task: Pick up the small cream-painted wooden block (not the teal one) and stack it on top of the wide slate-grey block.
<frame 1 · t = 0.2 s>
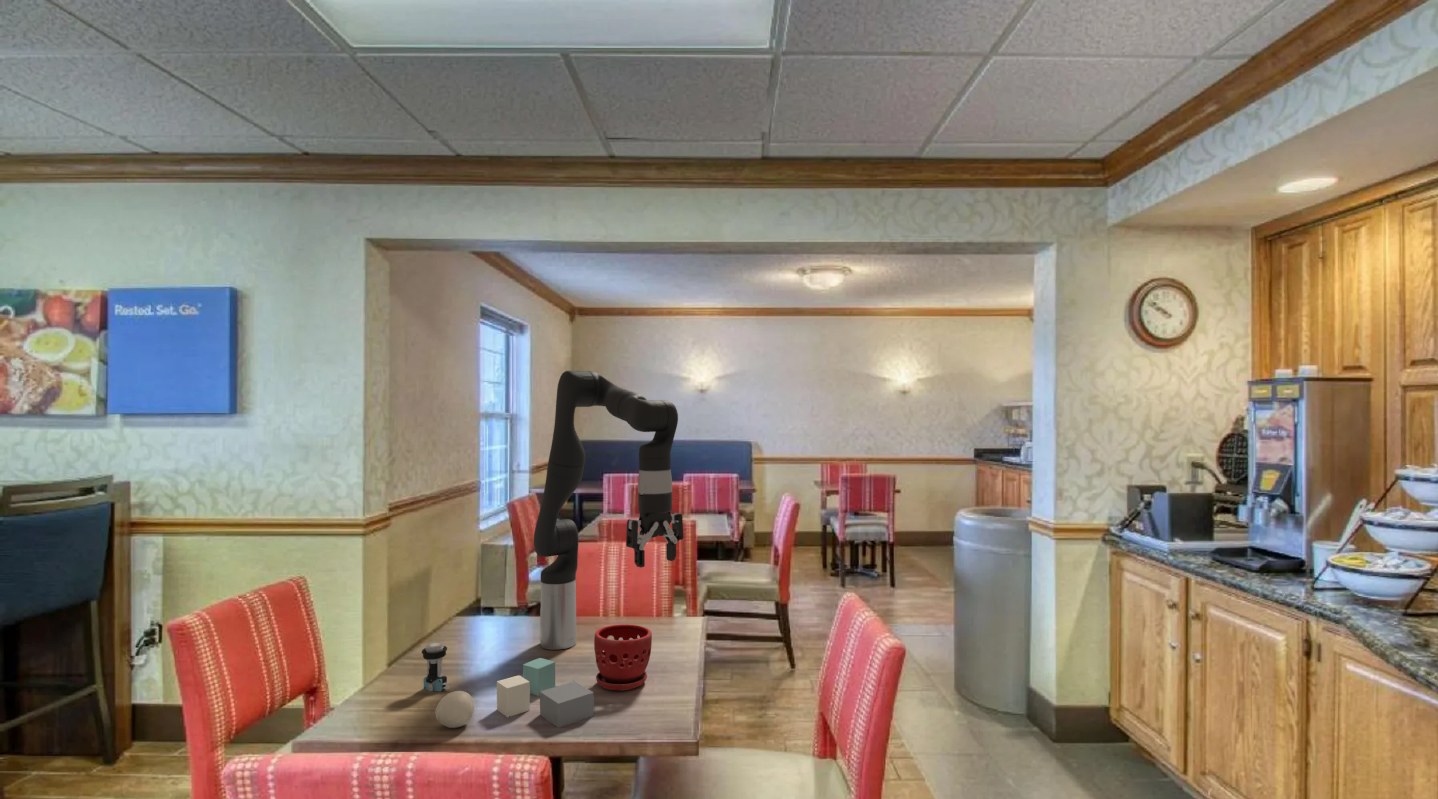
hand: (655, 563, 154), 29 cm above the table, fingers open, 8 cm apart
cream block: (513, 710, 147), on the table
plant pot: (623, 684, 161), on the table
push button: (437, 690, 158), on the table
teal block: (539, 689, 158), on the table
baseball: (454, 727, 140), on the table
slate base block: (566, 716, 144), on the table
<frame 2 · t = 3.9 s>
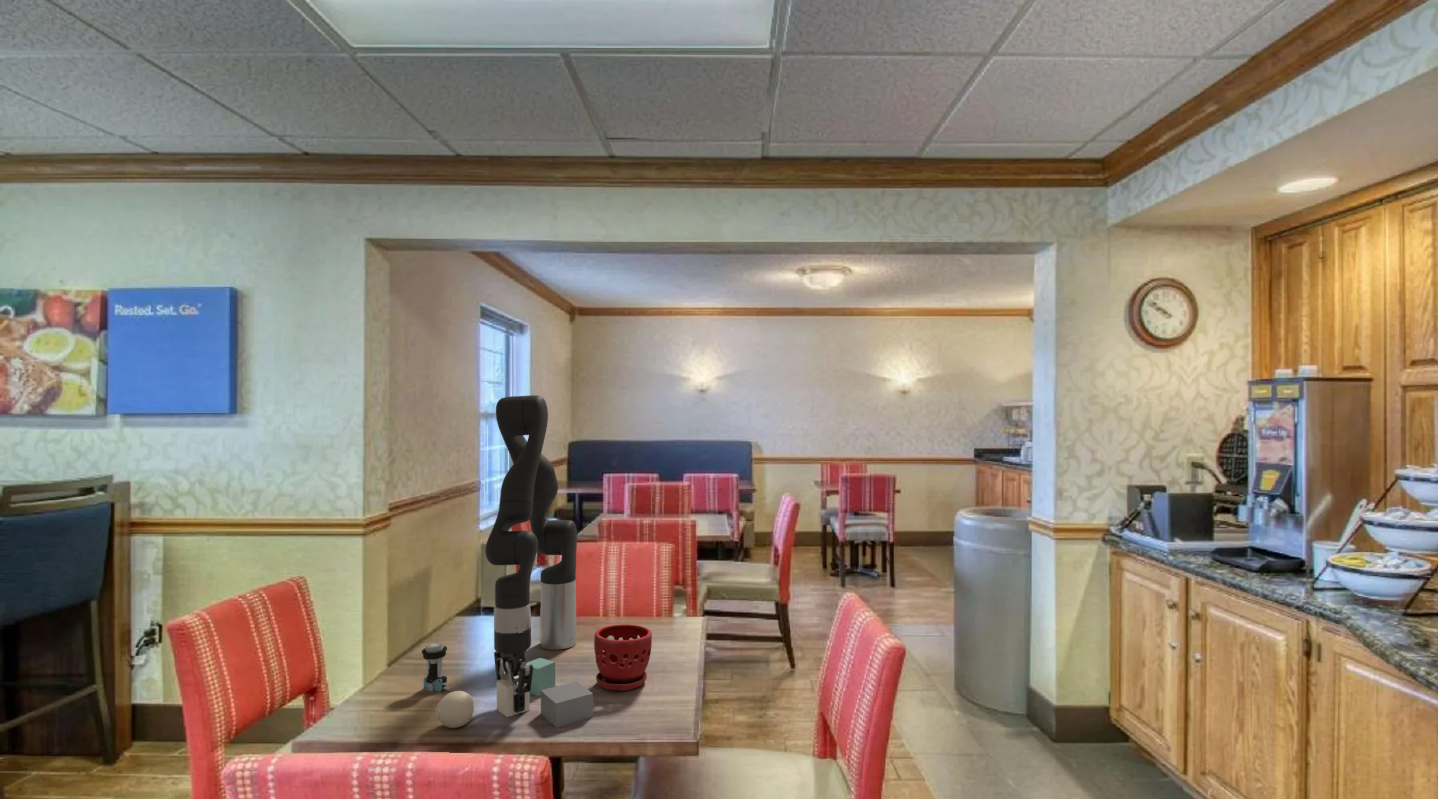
hand: (513, 706, 147), 1 cm above the table, fingers closed on cream block, 5 cm apart
cream block: (513, 709, 147), on the table, touching gripper
everything else where it was.
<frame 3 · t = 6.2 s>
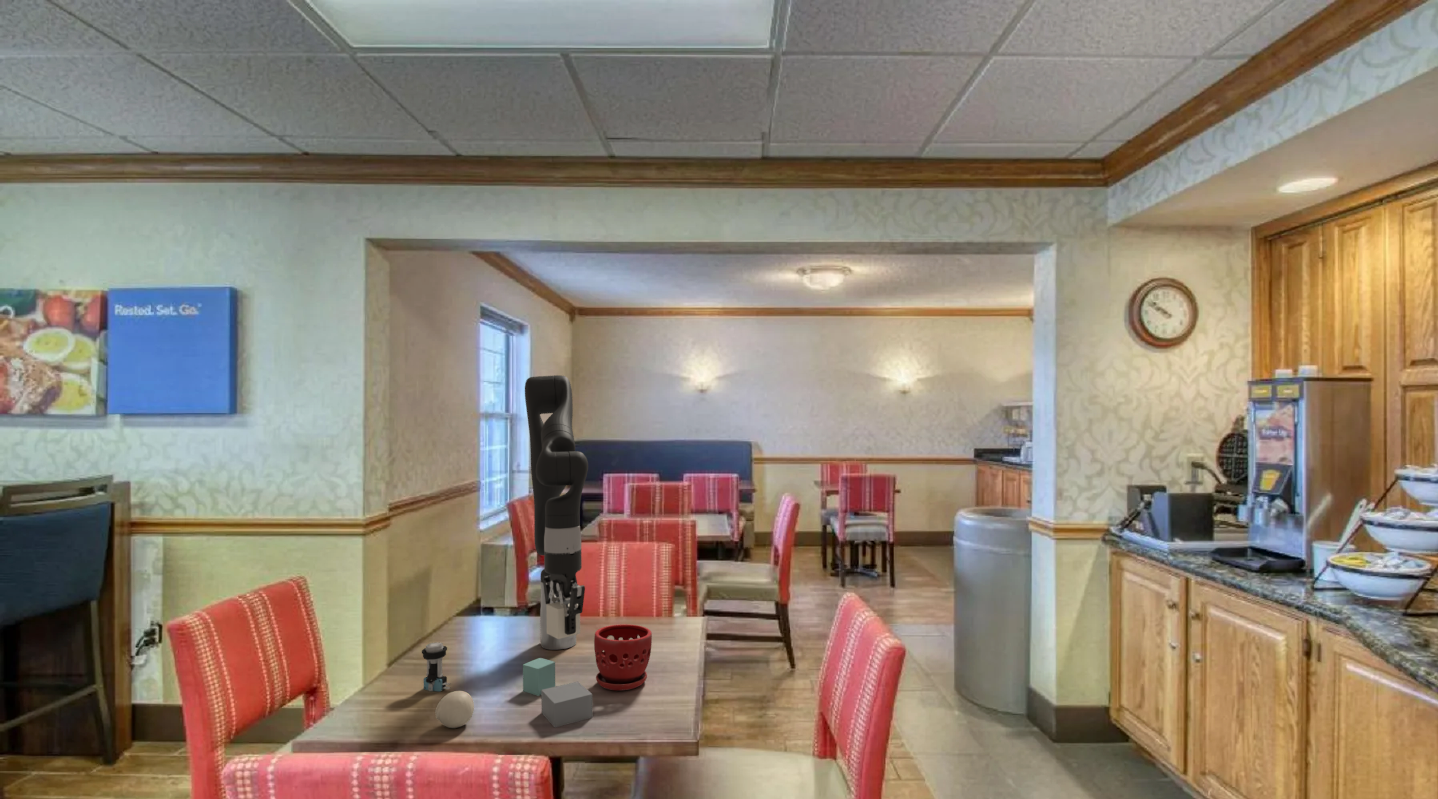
hand: (563, 630, 144), 18 cm above the table, fingers closed on cream block, 5 cm apart
cream block: (563, 633, 144), point 17 cm above the table, touching gripper
everything else where it was.
when the fingers open (7 cm above the table, at t = 8.6 s): cream block drops 1 cm, resting on slate base block.
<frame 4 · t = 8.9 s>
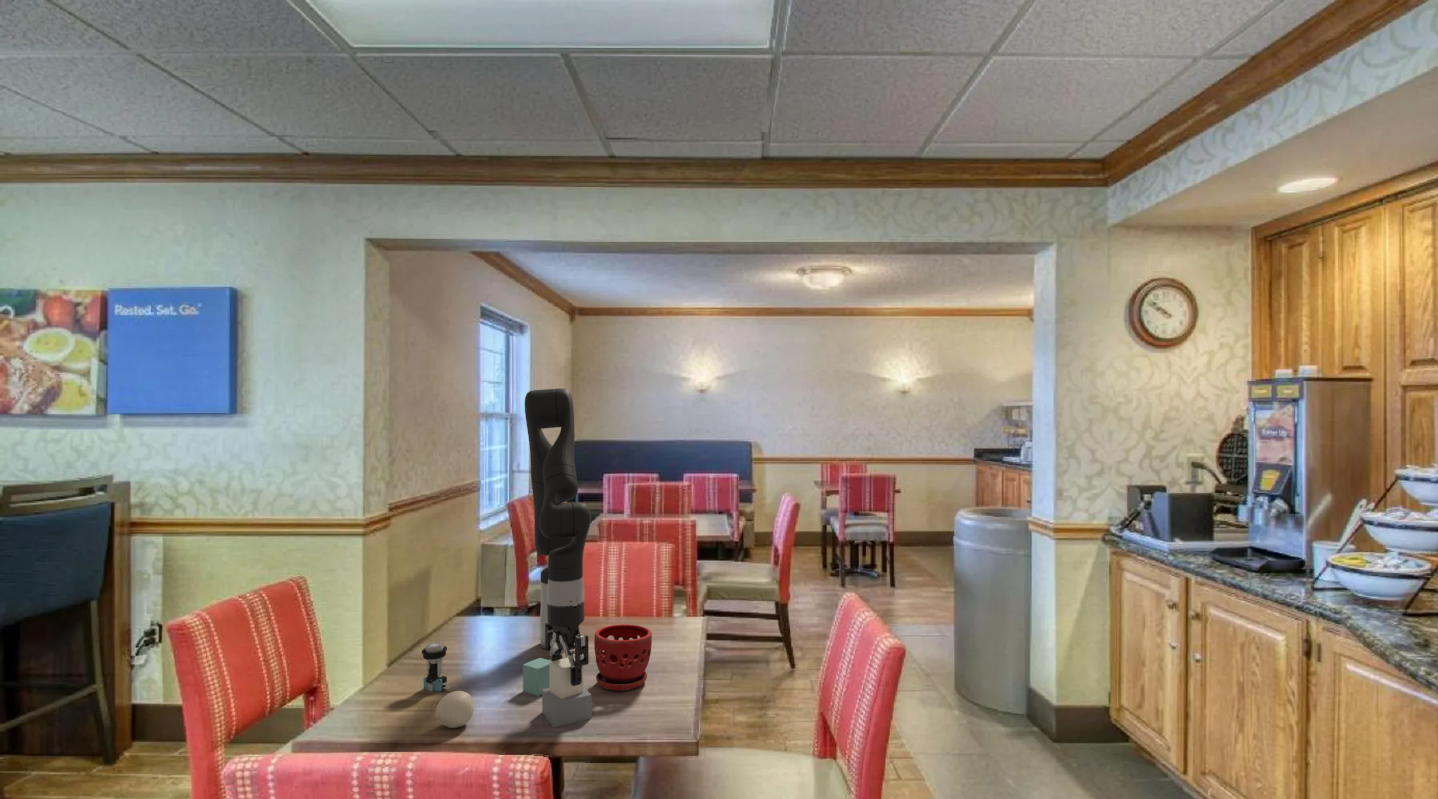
hand: (566, 679, 144), 7 cm above the table, fingers open, 7 cm apart
cream block: (566, 691, 144), point 5 cm above the table, touching slate base block
slate base block: (566, 716, 144), on the table, touching cream block
everything else where it was.
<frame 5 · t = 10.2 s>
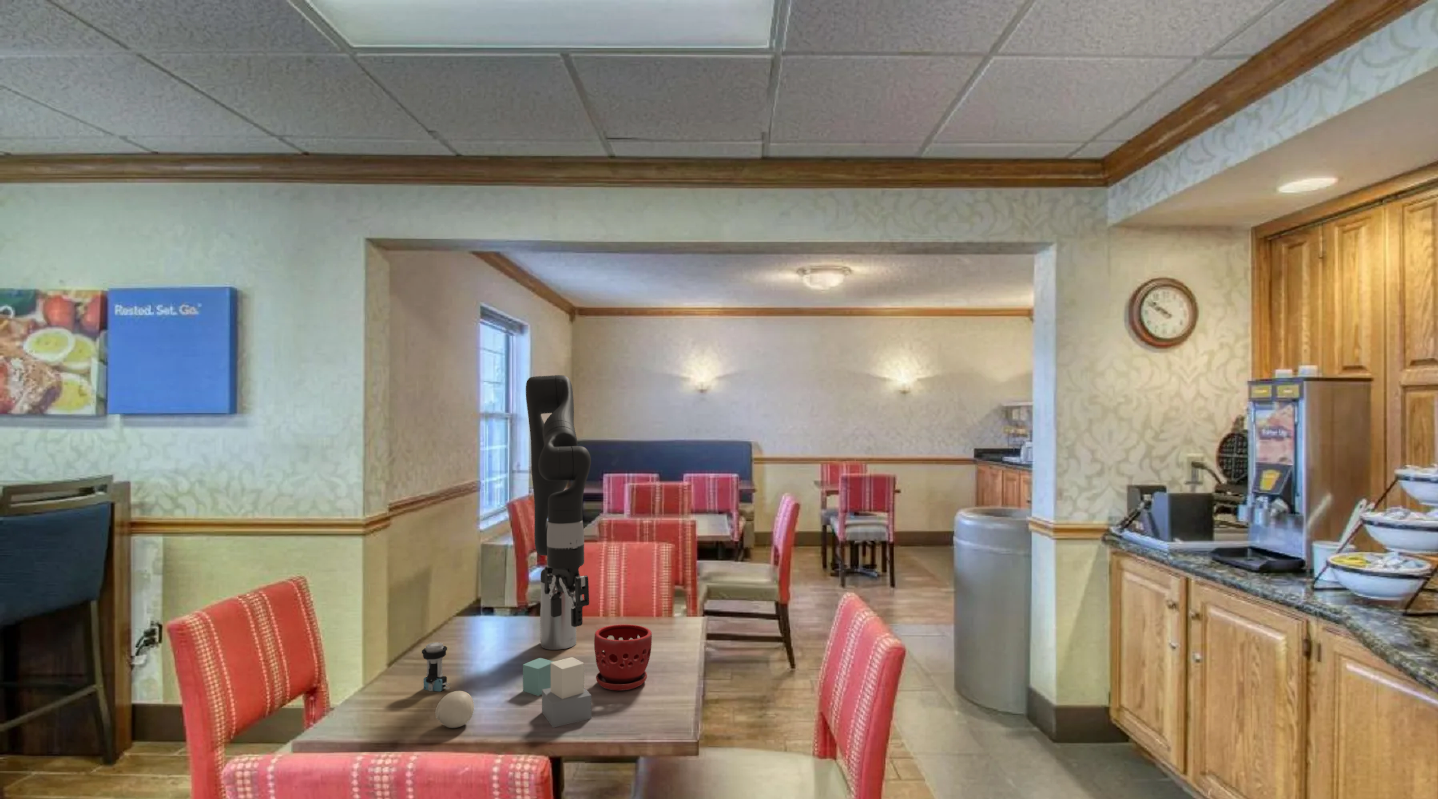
hand: (566, 621, 144), 19 cm above the table, fingers open, 8 cm apart
nothing on the table moved.
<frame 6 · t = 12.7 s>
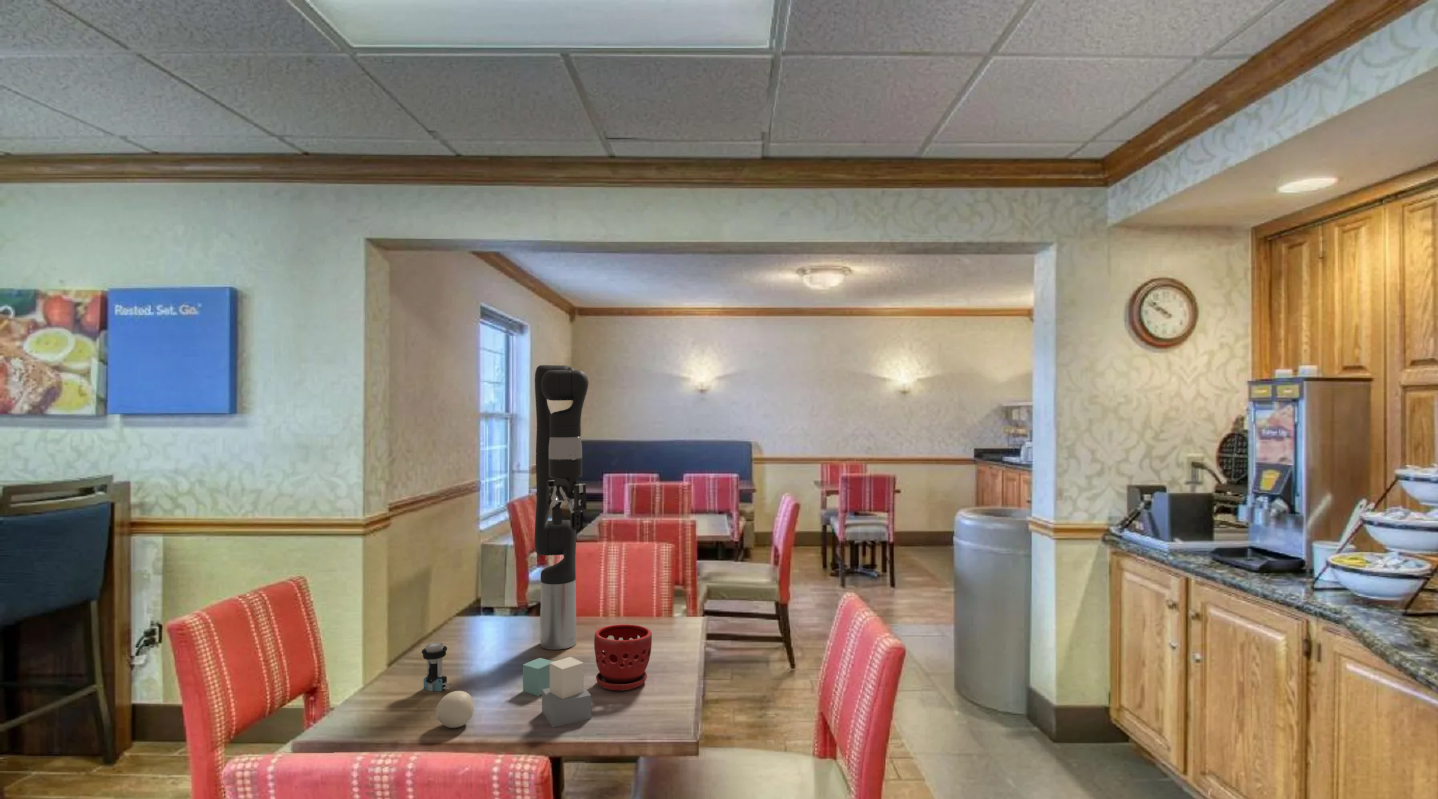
hand: (566, 527, 160), 36 cm above the table, fingers open, 8 cm apart
nothing on the table moved.
at the end: cream block 0.2 cm off-centre on the slate base block, point 5.0 cm above the slate base block's base; cream block tilted 0°; the gripper is holding nothing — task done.
